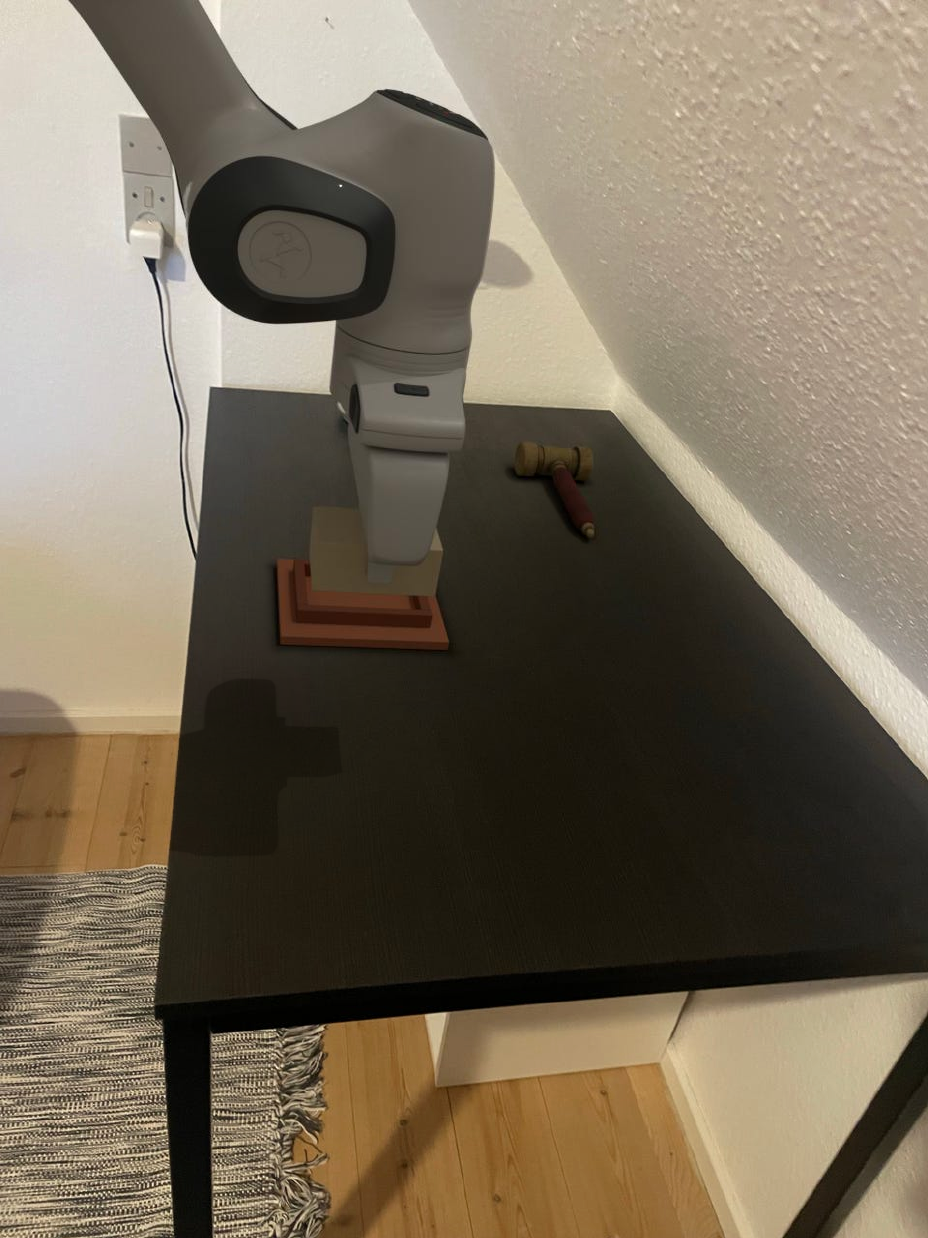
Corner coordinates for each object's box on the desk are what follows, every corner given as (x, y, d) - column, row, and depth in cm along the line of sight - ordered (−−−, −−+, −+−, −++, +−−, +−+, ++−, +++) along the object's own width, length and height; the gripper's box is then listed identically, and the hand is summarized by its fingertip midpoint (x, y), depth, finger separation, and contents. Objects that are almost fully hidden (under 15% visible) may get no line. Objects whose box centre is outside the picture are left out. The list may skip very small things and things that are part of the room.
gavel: (634, 522, 115) (557, 517, 113) (623, 553, 118) (548, 548, 116) (587, 441, 132) (519, 435, 129) (579, 470, 134) (511, 464, 132)
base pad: (280, 644, 88) (282, 622, 86) (276, 566, 99) (278, 546, 98) (447, 650, 92) (451, 629, 90) (425, 574, 103) (429, 554, 102)
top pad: (312, 590, 68) (316, 542, 65) (309, 552, 72) (313, 505, 70) (435, 597, 70) (443, 550, 68) (424, 559, 74) (432, 513, 72)
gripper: (340, 320, 70) (323, 487, 78) (363, 430, 54) (339, 630, 61) (423, 330, 72) (399, 493, 79) (471, 440, 55) (435, 634, 63)
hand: (373, 554), depth 70 cm, fingers closed on top pad, 5 cm apart
